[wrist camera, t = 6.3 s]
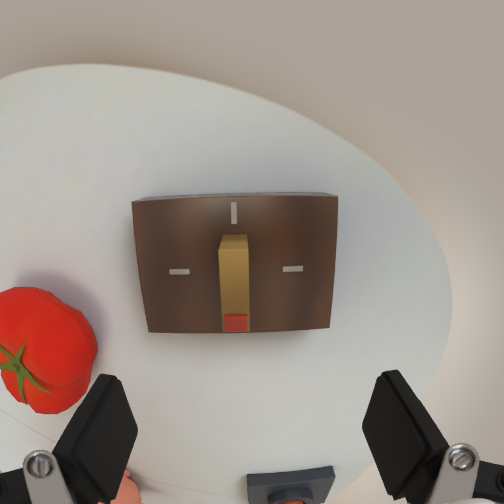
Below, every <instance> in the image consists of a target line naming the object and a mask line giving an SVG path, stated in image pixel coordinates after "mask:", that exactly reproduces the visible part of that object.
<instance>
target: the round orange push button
mask: <svg viewBox="0 0 504 504" xmlns="http://www.w3.org/2000/svg"><path fill="white" fill-rule="evenodd" d="M282 504H304V503H303V501H290V502H285V503H282Z"/></svg>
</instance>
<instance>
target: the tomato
mask: <svg viewBox="0 0 504 504" xmlns="http://www.w3.org/2000/svg"><path fill="white" fill-rule="evenodd" d="M96 354H97V342H96V339H95V336H94V333H93V329H92V327H91V325H90V324H89V323H88V321H87V320H86V318H85V317H84V316H83V314H82V313H81V312H80V311H78V310H76V309H74V308H72V307H70V306H68V305H66V304H64V303H63V302H61V301H60V300H59V299H58V298H56V297H55V296H54V295H53V294H52V293H50V292H49V291H45V290H41V289H38V288H34V287H14V288H11V289H8V290H6V291H4V292H1V293H0V369H1V377H2V379H3V381H4V384H5V386H6V388H7V390H8V391H9V392H10V393H11V394H12V396H13V397H14V398H15V399H16V400H17V401H18V402H22V403H25V404H26V405H27V404H29V405H30V406H31V408H32V409H33V410H34V411H35V412H36V413H42V414H58V413H60V412H62V411H65V410H67V409H68V408H70V407H71V406H72V405H74V404H75V403H76V402H78V400H79V399H80V398H81V397H82V396H83V395H84V394H85V393H86V390H87V388H88V385H89V383H90V377H91V370H92V365H93V362H94V359H95V356H96Z"/></svg>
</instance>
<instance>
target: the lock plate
mask: <svg viewBox="0 0 504 504" xmlns="http://www.w3.org/2000/svg"><path fill="white" fill-rule="evenodd" d="M132 213H133V225H134V236H135V245H136V254H137V262H138V270H139V277H140V284H141V290H142V297H143V303H144V309H145V314H146V320H147V325H148V330H149V332H157V333H252V332H276V331H294V330H309V329H322V328H329V327H330V318H331V308H332V298H333V286H334V273H335V259H336V241H337V218H338V196H336V195H332V194H328V193H304V192H276V193H226V194H200V195H181V196H164V197H150V198H143V199H140V200H136V201H133V202H132ZM231 234H247V240H248V252H249V308H250V331H249V332H223V328H222V313H221V296H220V278H219V258H218V250H219V246H220V243H221V239H222V236H223V235H231Z"/></svg>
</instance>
